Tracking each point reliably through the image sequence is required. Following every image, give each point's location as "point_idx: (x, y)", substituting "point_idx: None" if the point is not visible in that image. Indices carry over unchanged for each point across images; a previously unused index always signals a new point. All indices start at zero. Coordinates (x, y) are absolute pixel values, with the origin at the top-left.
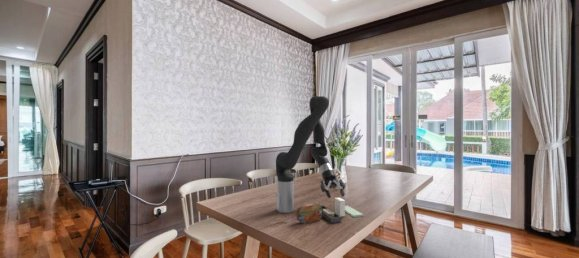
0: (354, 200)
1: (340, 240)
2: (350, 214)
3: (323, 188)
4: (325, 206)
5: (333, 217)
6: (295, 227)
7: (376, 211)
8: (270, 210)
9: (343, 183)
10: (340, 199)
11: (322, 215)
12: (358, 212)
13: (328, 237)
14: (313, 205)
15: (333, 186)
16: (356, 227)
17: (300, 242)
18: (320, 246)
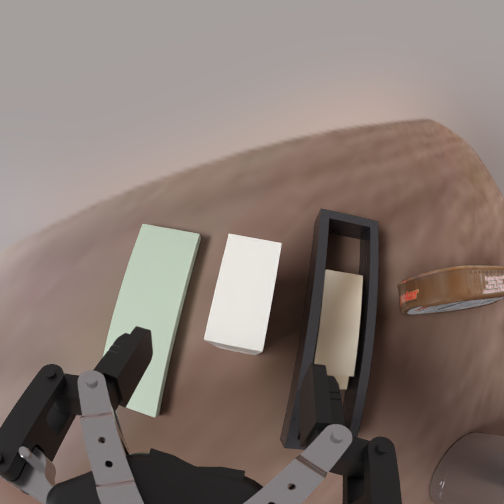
0: None
1: (393, 129)
2: (190, 274)
3: (389, 449)
4: (290, 423)
5: (363, 223)
6: None
7: (46, 248)
8: None
9: (15, 407)
10: (247, 276)
11: (397, 285)
12: (138, 257)
13: (419, 156)
14: (480, 271)
15: (190, 468)
16: (287, 153)
17: (482, 180)
18: (445, 141)
